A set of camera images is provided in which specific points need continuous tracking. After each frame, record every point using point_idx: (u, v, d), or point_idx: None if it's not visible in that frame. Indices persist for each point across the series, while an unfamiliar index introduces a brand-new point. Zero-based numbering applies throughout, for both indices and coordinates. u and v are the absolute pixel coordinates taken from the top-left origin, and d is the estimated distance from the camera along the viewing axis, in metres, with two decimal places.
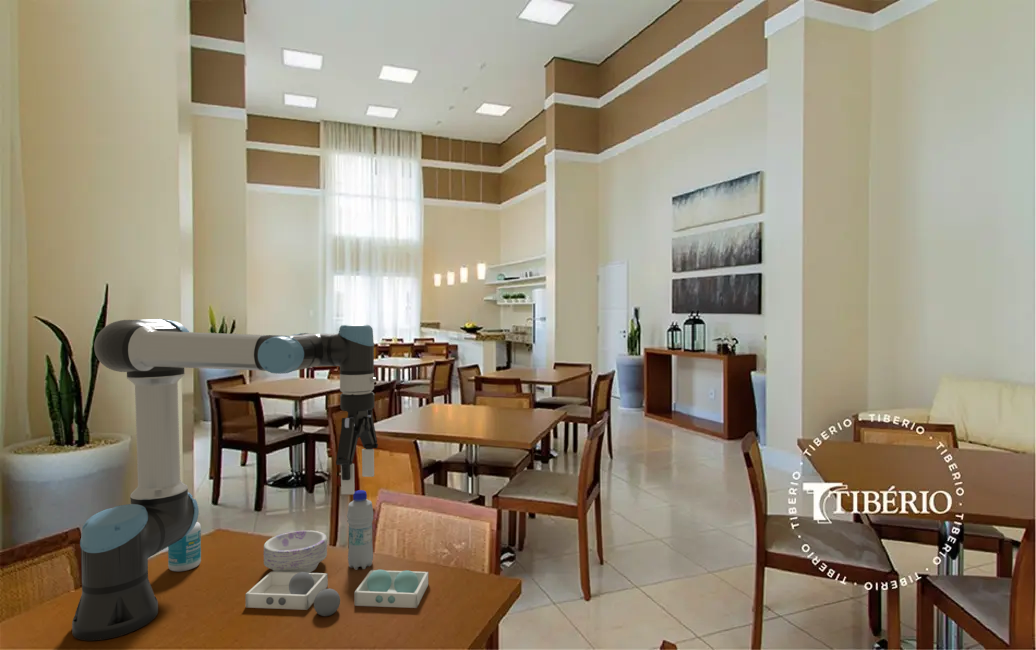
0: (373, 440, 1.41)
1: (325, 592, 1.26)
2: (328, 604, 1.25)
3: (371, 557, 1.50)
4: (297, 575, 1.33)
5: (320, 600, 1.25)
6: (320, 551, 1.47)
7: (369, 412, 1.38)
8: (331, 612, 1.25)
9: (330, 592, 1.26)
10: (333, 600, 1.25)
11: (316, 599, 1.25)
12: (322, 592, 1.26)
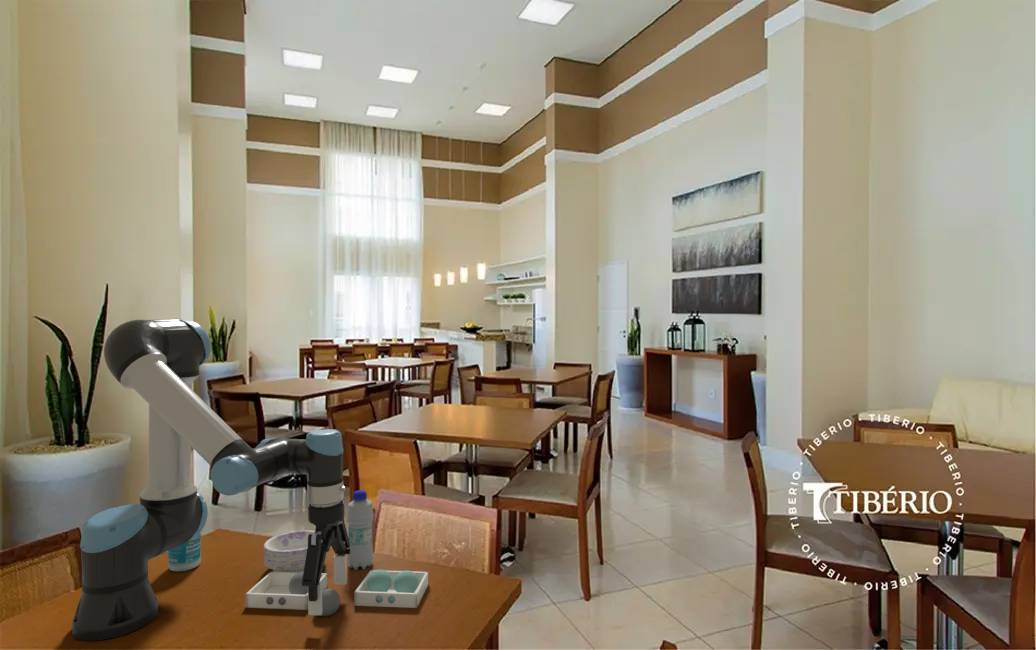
0: (345, 545, 1.35)
1: (325, 592, 1.26)
2: (328, 604, 1.25)
3: (371, 557, 1.50)
4: (297, 575, 1.33)
5: None
6: None
7: None
8: (331, 612, 1.25)
9: (330, 592, 1.26)
10: (333, 600, 1.25)
11: None
12: (322, 592, 1.26)
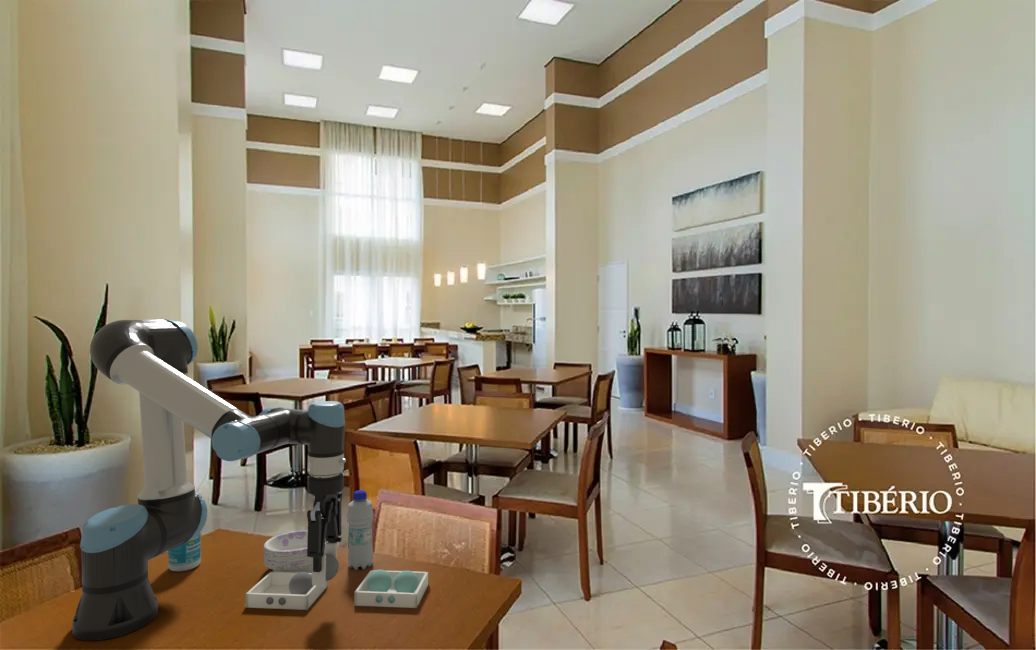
0: None
1: None
2: (326, 568, 1.25)
3: (371, 557, 1.50)
4: (297, 575, 1.33)
5: None
6: None
7: (339, 495, 1.32)
8: (329, 577, 1.25)
9: (329, 557, 1.26)
10: (331, 565, 1.25)
11: None
12: None
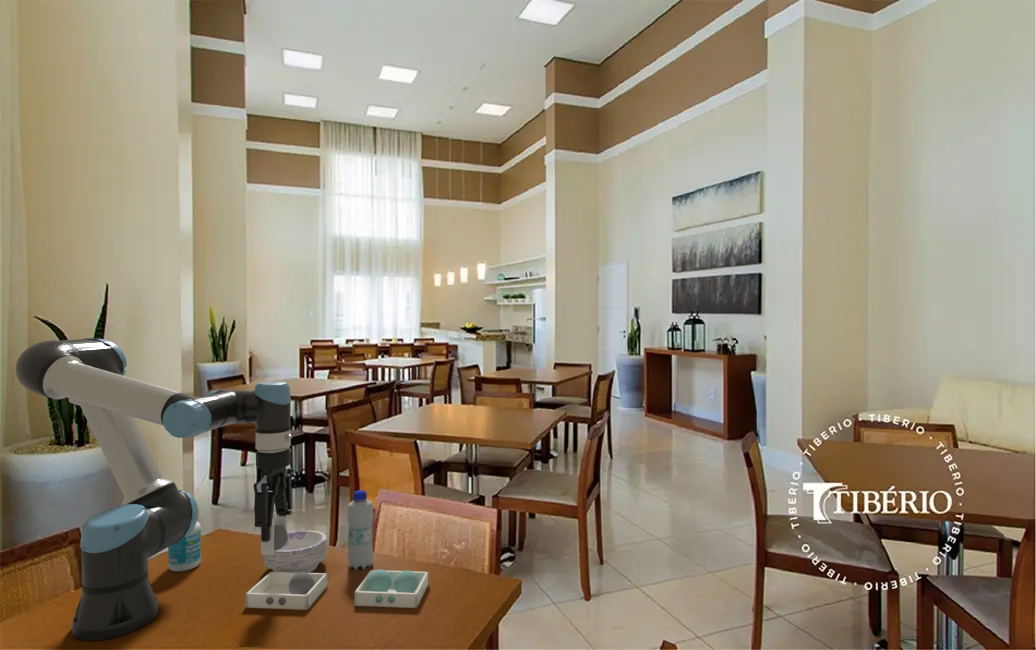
0: (287, 504, 1.39)
1: None
2: (275, 538, 1.32)
3: (371, 557, 1.50)
4: (297, 575, 1.33)
5: None
6: (320, 551, 1.47)
7: (288, 471, 1.39)
8: (278, 546, 1.32)
9: (278, 528, 1.34)
10: (280, 535, 1.33)
11: None
12: None
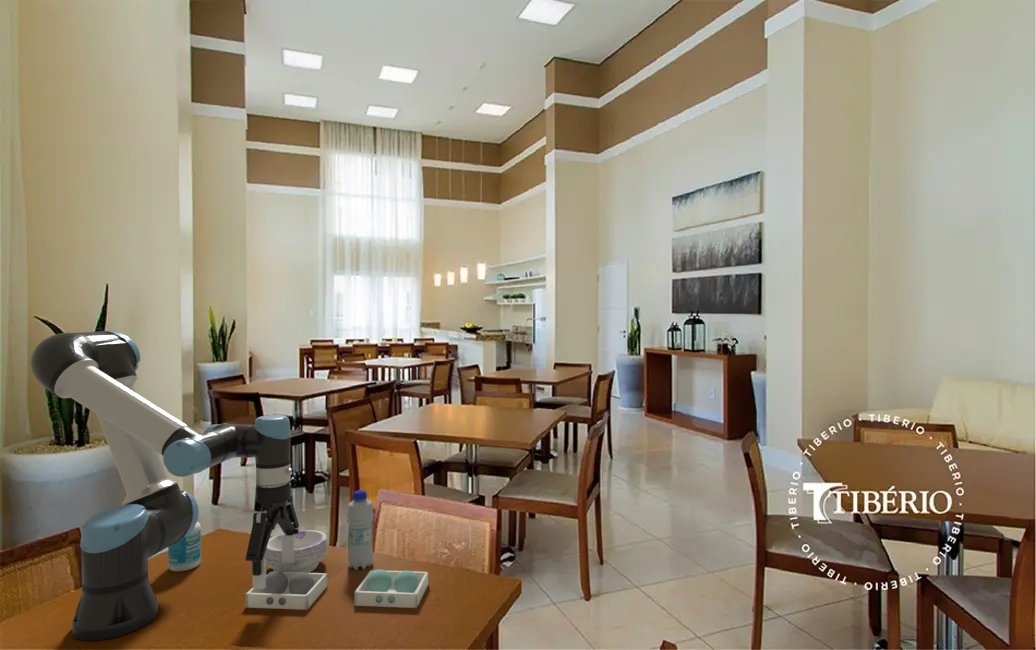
0: (294, 525, 1.43)
1: (273, 574, 1.34)
2: (275, 585, 1.32)
3: (371, 557, 1.50)
4: (297, 575, 1.33)
5: (268, 582, 1.32)
6: (320, 550, 1.47)
7: (288, 499, 1.40)
8: (278, 593, 1.33)
9: (278, 574, 1.34)
10: (280, 582, 1.33)
11: None
12: (270, 574, 1.34)
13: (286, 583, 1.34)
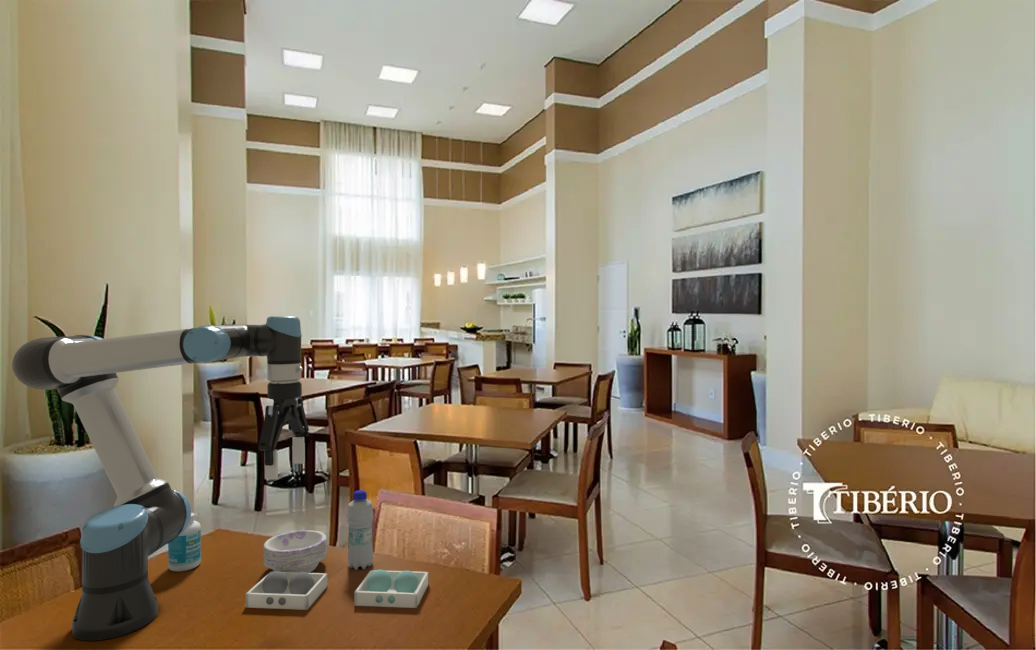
0: (304, 428, 1.46)
1: (273, 574, 1.34)
2: (275, 585, 1.32)
3: (371, 557, 1.50)
4: (297, 575, 1.33)
5: (268, 582, 1.32)
6: (320, 551, 1.47)
7: (299, 401, 1.43)
8: (278, 593, 1.33)
9: (277, 574, 1.34)
10: (280, 582, 1.33)
11: (264, 581, 1.33)
12: (270, 574, 1.34)
13: (286, 583, 1.34)
